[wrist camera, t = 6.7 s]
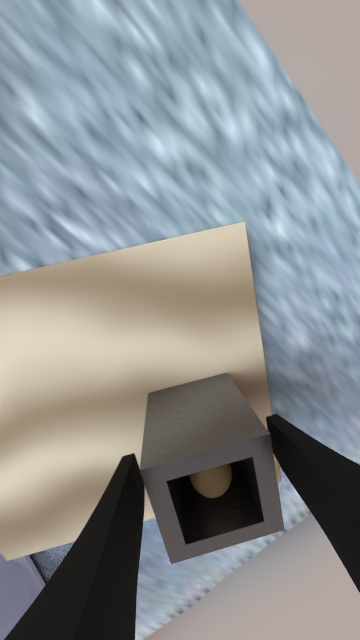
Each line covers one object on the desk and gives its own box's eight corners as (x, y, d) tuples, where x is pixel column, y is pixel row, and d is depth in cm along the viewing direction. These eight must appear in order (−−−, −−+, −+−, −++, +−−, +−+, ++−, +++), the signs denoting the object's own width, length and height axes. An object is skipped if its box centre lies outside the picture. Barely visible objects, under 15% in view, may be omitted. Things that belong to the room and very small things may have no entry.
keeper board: (270, 462, 16) (334, 568, 10) (21, 533, 15) (-68, 696, 9) (234, 228, 12) (304, 180, 6) (-106, 305, 11) (-402, 334, 5)
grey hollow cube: (239, 438, 13) (284, 530, 8) (167, 458, 13) (171, 563, 8) (226, 372, 12) (270, 433, 7) (148, 392, 12) (139, 469, 7)
